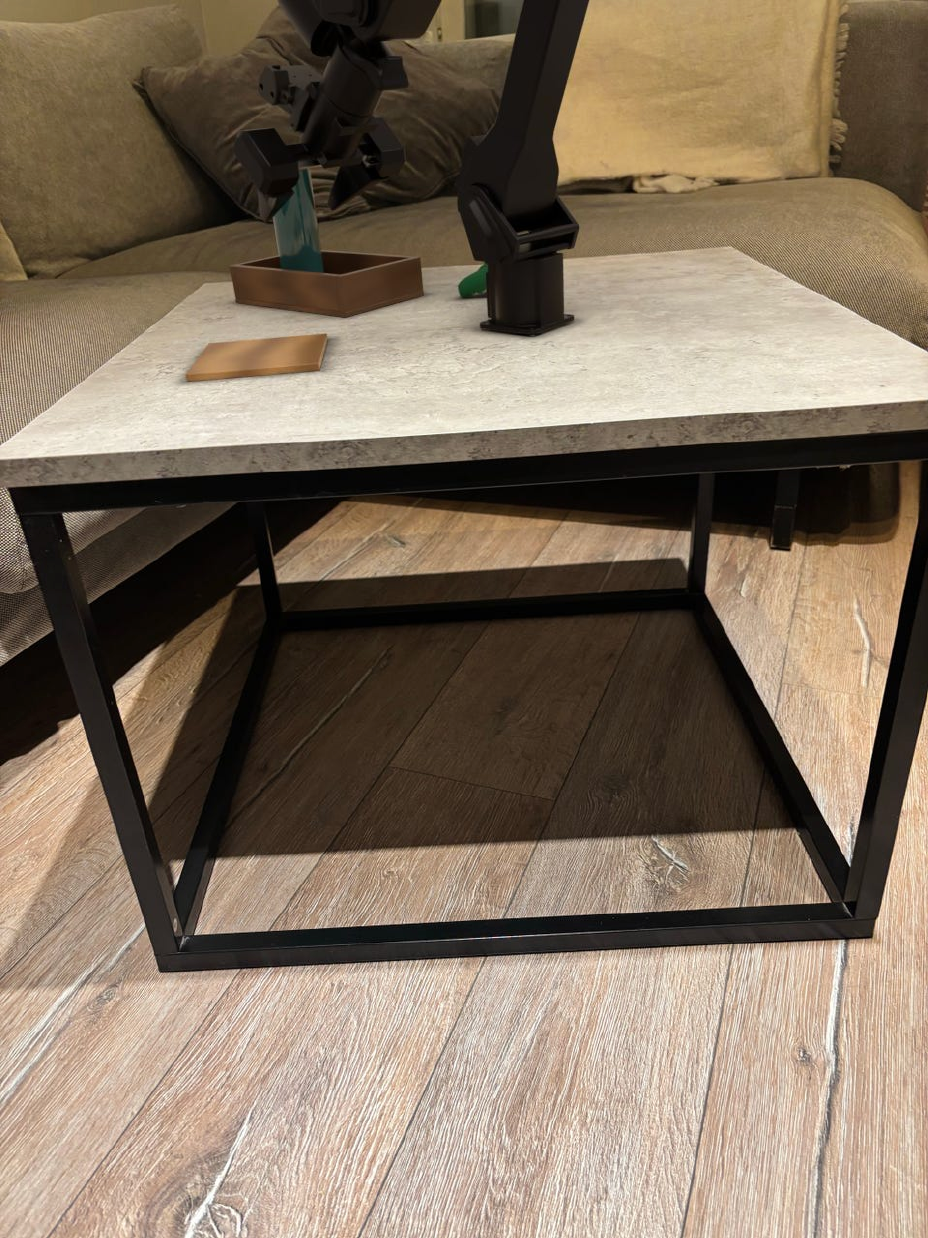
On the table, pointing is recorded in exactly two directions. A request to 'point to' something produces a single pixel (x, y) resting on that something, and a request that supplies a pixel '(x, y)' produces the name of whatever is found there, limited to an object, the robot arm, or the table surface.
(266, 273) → the basket
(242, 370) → the mat
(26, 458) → the table surface
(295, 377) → the table surface
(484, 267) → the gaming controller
